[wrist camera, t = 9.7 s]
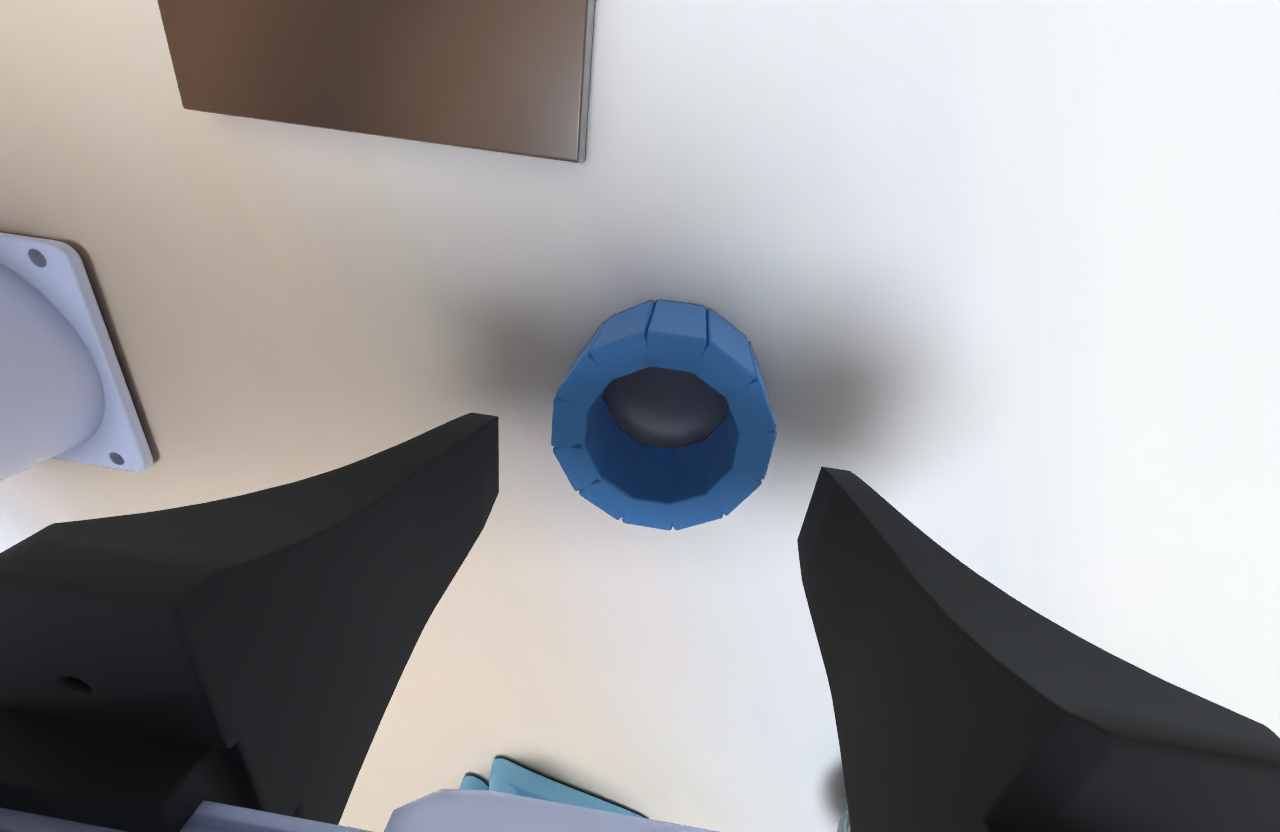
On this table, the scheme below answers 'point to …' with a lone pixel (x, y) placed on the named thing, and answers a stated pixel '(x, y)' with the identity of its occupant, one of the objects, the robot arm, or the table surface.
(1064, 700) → the robot arm
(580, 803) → the chair
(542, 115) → the brown square board
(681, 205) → the table surface
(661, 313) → the tape
